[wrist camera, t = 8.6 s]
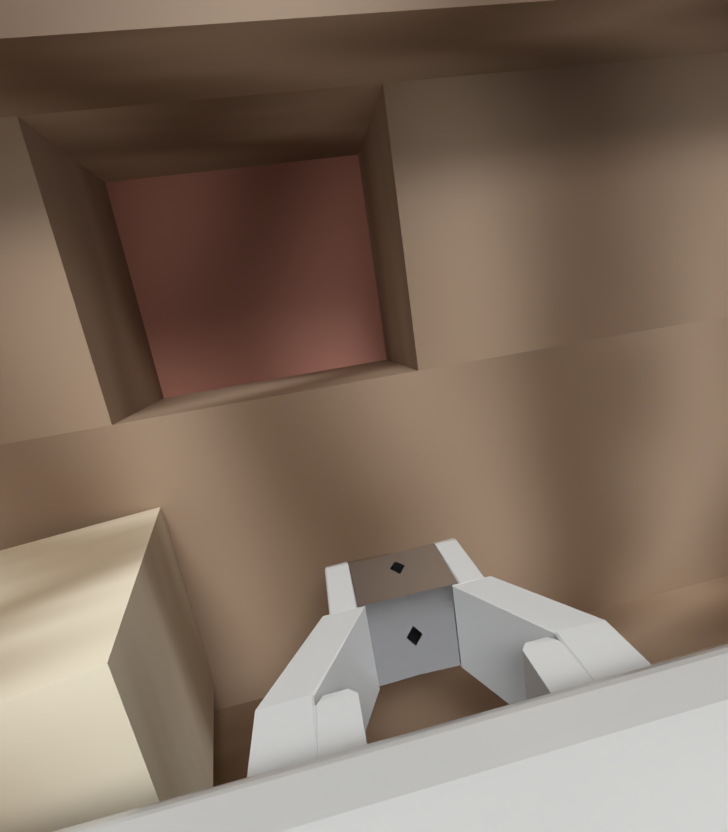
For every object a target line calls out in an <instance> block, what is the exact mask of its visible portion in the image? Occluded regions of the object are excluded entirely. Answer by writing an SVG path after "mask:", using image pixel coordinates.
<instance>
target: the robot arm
mask: <svg viewBox="0 0 728 832" xmlns="http://www.w3.org/2000/svg"><path fill="white" fill-rule="evenodd" d="M348 564H349V566H348ZM349 570H350V571H349ZM325 576H326V586H327V596H328V606H329V615H325V616H323V617H322V618H321V619H320V621H319V622H318V623H317V625H316V626H315V628H314V629H313V630H312V632H311V633H310V635H309V636H308V637H307V639H306V640H305V642H304V643H303V644H302V646H301V647H300V649H299V650H298V651H297V653H296V654H295V656H294V657H293V658H292V660H291V661H290V663H289V664H288V665H287V667H286V668H285V670H284V671H283V672H282V674H281V675H280V677H279V678H278V679H277V681H276V682H275V683H274V685H273V686H272V688H271V689H270V690H269V692H268V693H267V695H266V696H265V697H264V699H263V700H262V702H261V703H260V704H259V706H258V707H257V709H256V710H255V716H254V724H253V732H252V740H251V748H250V756H249V765H248V773H247V778H243V779H240V780H236V781H232V782H229V783H225V784H222V785H218V786H214V787H211V788H207V789H204V790H200V791H196V792H193V793H189V794H186V795H182V796H178V797H175V798H171V799H168V800H164V801H160V802H157V803H153V804H149V805H146V806H142V807H139V808H135V809H131V810H128V811H124V812H121V813H117V814H113V815H110V816H106V817H103V818H99V819H95V820H92V821H88V822H85V823H81V824H77V825H74V826H70V827H66V828H63V829H59V830H56V831H52V832H728V644H726V645H722V646H719V647H715V648H712V649H708V650H704V651H701V652H697V653H694V654H690V655H686V656H683V657H679V658H675V659H672V660H668V661H665V662H661V663H657V664H654V665H651V664H650V663H649V662H648V661H647V660H646V659H645V658H644V657H643V656H642V655H641V654H640V653H639V652H638V651H637V650H636V649H635V648H634V647H633V646H632V645H631V644H630V643H629V642H627V641H626V640H625V639H624V638H623V637H622V636H621V635H620V634H619V633H618V632H617V631H616V630H615V629H614V628H613V627H612V626H611V625H610V624H609V623H608V622H607V621H606V620H603V619H601V618H598V617H596V616H593V615H590V614H588V613H585V612H583V611H580V610H577V609H575V608H572V607H570V606H567V605H565V604H562V603H559V602H557V601H554V600H552V599H549V598H546V597H544V596H541V595H539V594H536V593H534V592H531V591H528V590H526V589H523V588H521V587H518V586H515V585H513V584H510V583H508V582H505V581H502V580H500V579H497V578H495V577H492V576H489V577H484V576H483V575H482V573H481V572H480V571H479V569H478V568H477V567H476V565H475V564H474V563H473V561H472V560H471V559H470V557H469V556H468V555H467V553H466V552H465V551H464V549H463V548H462V547H461V545H460V544H459V543H458V541H457V540H456V539H454V538H450V539H446V540H442V541H439V542H435V543H432V544H428V545H424V546H420V547H416V548H412V549H408V550H404V551H400V552H396V553H392V554H391V553H389V554H384V555H379V556H374V557H369V558H364V559H359V560H354V561H349V562H348V563H347V562H344V563H339V564H335V565H331V566H327V567H325ZM459 665H461V667H462V668H463V669H465V670H466V671H467V672H468V673H470V674H471V675H472V676H474V677H475V678H476V679H478V680H479V681H480V682H481V683H483V684H484V685H485V686H487V687H488V688H489V689H490V690H492V691H493V692H494V693H496V694H497V695H498V696H499V697H501V698H502V699H503V700H505V701H506V702H507V703H508V704H509V705H506V706H502V707H499V708H495V709H492V710H488V711H484V712H481V713H477V714H474V715H470V716H466V717H463V718H459V719H456V720H452V721H449V722H445V723H441V724H438V725H434V726H431V727H427V728H424V729H420V730H416V731H413V732H409V733H406V734H402V735H398V736H395V737H391V738H388V739H384V740H380V741H377V742H373V743H370V744H368V743H367V737H366V732H365V731H366V728H367V725H368V722H369V719H370V716H371V713H372V710H373V708H374V705H375V702H376V699H377V696H378V693H379V690H380V688H379V686H383V685H386V684H389V683H393V682H396V681H400V680H403V679H406V678H410V677H413V676H416V675H420V674H424V673H429V672H433V671H437V670H442V669H446V668H450V667H455V666H459Z"/></svg>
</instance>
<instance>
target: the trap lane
mask: <svg viewBox="0 0 728 832" xmlns="http://www.w3.org/2000/svg"><path fill="white" fill-rule="evenodd" d="M158 507H161V510H162V513H163V516H164V520H165V523H166V526H167V529H168V533H169V536H170V539H171V542H172V546H173V549H174V552H175V555H176V559H177V562H178V565H179V568H180V572H181V575H182V578H183V581H184V585H185V588H186V591H187V594H188V598H189V601H190V604H191V608H192V611H193V614H194V617H195V621H196V624H197V627H198V630H199V634H200V637H201V640H202V643H203V647H204V650H205V653H206V656H207V660H208V663H209V666H210V669H211V673H212V676H213V679H214V739H213V787H214V786H218V785H222V784H225V783H229V782H232V781H236V780H240V779H243V778H247V773H248V765H249V756H250V748H251V740H252V732H253V724H254V716H255V710H256V709H257V707H258V706H259V704H260V703H261V702H262V700H263V699H264V697H265V696H266V695H267V693H268V692H269V690H270V689H271V688H272V686H273V685H274V683H275V682H276V681H277V679H278V678H279V677H280V675H281V674H282V672H283V671H284V670H285V668H286V667H287V665H288V664H289V663H290V661H291V660H292V658H293V657H294V656H295V654H296V653H297V651H298V650H299V649H300V647H301V646H302V644H303V643H304V642H305V640H306V639H307V637H308V636H309V635H310V633H311V632H312V630H313V629H314V628H315V626H316V625H317V623H318V622H319V621H320V619H321V618H322V617H323V616H325V615H329V606H328V596H327V586H326V576H325V567H327V566H331V565H335V564H339V563H344V562H347V563H348V562H349V561H354V560H359V559H364V558H369V557H374V556H379V555H384V554H389V553H391V554H392V553H396V552H400V551H404V550H408V549H412V548H416V547H420V546H424V545H428V544H432V543H435V542H439V541H442V540H446V539H450V538H454V539H456V540H457V541H458V543H459V544H460V545H461V547H462V548H463V549H464V551H465V552H466V553H467V555H468V556H469V557H470V559H471V560H472V561H473V563H474V564H475V565H476V567H477V568H478V569H479V571H480V572H481V573H482V575H483V576H484V577H489V576H492V577H495V578H497V579H500V580H502V581H505V582H508V583H510V584H513V585H515V586H518V587H521V588H523V589H526V590H528V591H531V592H534V593H536V594H539V595H541V596H544V597H546V598H549V599H552V600H554V601H557V602H559V603H562V604H565V605H567V606H570V607H572V608H575V609H577V610H580V611H583V612H585V613H588V614H590V615H593V616H596V617H598V618H601V619H603V620H606V621H607V622H608V623H609V624H610V625H611V626H612V627H613V628H614V629H615V630H616V631H617V632H618V633H619V634H620V635H621V636H622V637H623V638H624V639H625V640H626V641H627V642H629V643H630V644H631V645H632V646H633V647H634V648H635V649H636V650H637V651H638V652H639V653H640V654H641V655H642V656H643V657H644V658H645V659H646V660H647V661H648V662H649V663H650V664H651V665H654V664H657V663H661V662H665V661H668V660H672V659H675V658H679V657H683V656H686V655H690V654H694V653H697V652H701V651H704V650H708V649H712V648H715V647H719V646H722V645H726V644H728V0H0V551H1V550H4V549H8V548H12V547H15V546H19V545H23V544H26V543H30V542H33V541H37V540H41V539H44V538H48V537H52V536H55V535H59V534H63V533H66V532H70V531H74V530H77V529H81V528H85V527H88V526H92V525H96V524H99V523H103V522H107V521H110V520H114V519H118V518H121V517H125V516H129V515H132V514H136V513H140V512H143V511H147V510H150V509H154V508H158ZM348 566H349V564H348ZM349 571H350V570H349ZM379 688H380V690H379V693H378V696H377V699H376V702H375V705H374V708H373V710H372V713H371V716H370V719H369V722H368V725H367V728H366V731H365V732H366V737H367V743H368V744H370V743H373V742H377V741H380V740H384V739H388V738H391V737H395V736H398V735H402V734H406V733H409V732H413V731H416V730H420V729H424V728H427V727H431V726H434V725H438V724H441V723H445V722H449V721H452V720H456V719H459V718H463V717H466V716H470V715H474V714H477V713H481V712H484V711H488V710H492V709H495V708H499V707H502V706H506V705H509V704H508V703H507V702H506V701H505V700H503V699H502V698H501V697H499V696H498V695H497V694H496V693H494V692H493V691H492V690H490V689H489V688H488V687H487V686H485V685H484V684H483V683H481V682H480V681H479V680H478V679H476V678H475V677H474V676H472V675H471V674H470V673H468V672H467V671H466V670H465V669H463V668H462V667H461V665H459V666H455V667H450V668H446V669H442V670H437V671H433V672H429V673H424V674H420V675H416V676H413V677H410V678H406V679H403V680H400V681H396V682H393V683H389V684H386V685H383V686H379Z"/></svg>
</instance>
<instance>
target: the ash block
mask: <svg viewBox="0 0 728 832" xmlns="http://www.w3.org/2000/svg"><path fill="white" fill-rule="evenodd" d="M213 739H214V679H213V676H212V673H211V669H210V666H209V663H208V660H207V656H206V653H205V650H204V647H203V643H202V640H201V637H200V634H199V630H198V627H197V624H196V621H195V617H194V614H193V611H192V608H191V604H190V601H189V598H188V594H187V591H186V588H185V585H184V581H183V578H182V575H181V572H180V568H179V565H178V562H177V559H176V555H175V552H174V549H173V546H172V542H171V539H170V536H169V533H168V529H167V526H166V523H165V520H164V516H163V513H162V510H161V507H158V508H154V509H150V510H147V511H143V512H140V513H136V514H132V515H129V516H125V517H121V518H118V519H114V520H110V521H107V522H103V523H99V524H96V525H92V526H88V527H85V528H81V529H77V530H74V531H70V532H66V533H63V534H59V535H55V536H52V537H48V538H44V539H41V540H37V541H33V542H30V543H26V544H23V545H19V546H15V547H12V548H8V549H4V550H1V551H0V832H52V831H56V830H59V829H63V828H66V827H70V826H74V825H77V824H81V823H85V822H88V821H92V820H95V819H99V818H103V817H106V816H110V815H113V814H117V813H121V812H124V811H128V810H131V809H135V808H139V807H142V806H146V805H149V804H153V803H157V802H160V801H164V800H168V799H171V798H175V797H178V796H182V795H186V794H189V793H193V792H196V791H200V790H204V789H207V788H211V787H213Z"/></svg>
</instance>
